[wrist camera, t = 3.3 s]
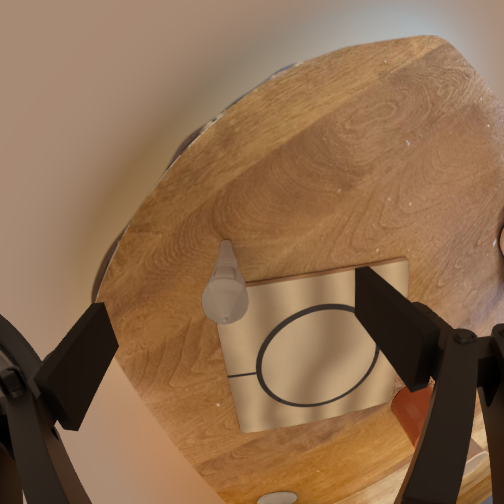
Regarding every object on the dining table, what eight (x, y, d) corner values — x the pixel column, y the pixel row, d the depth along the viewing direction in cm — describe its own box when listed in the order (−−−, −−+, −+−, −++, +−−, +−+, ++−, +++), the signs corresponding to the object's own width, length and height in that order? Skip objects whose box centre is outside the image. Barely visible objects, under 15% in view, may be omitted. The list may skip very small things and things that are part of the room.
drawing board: (241, 428, 35) (241, 434, 33) (210, 287, 29) (209, 292, 28) (388, 396, 35) (391, 401, 34) (404, 256, 29) (410, 260, 28)
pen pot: (388, 418, 37) (409, 456, 29) (394, 388, 35) (420, 427, 27) (423, 405, 37) (447, 439, 30) (432, 375, 35) (461, 409, 28)
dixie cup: (424, 454, 43) (444, 489, 33) (431, 431, 40) (456, 468, 30) (457, 436, 43) (479, 467, 33) (467, 411, 40) (493, 444, 31)
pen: (210, 257, 28) (199, 345, 14) (211, 228, 27) (197, 294, 14) (238, 258, 28) (250, 345, 15) (240, 229, 27) (253, 296, 14)
